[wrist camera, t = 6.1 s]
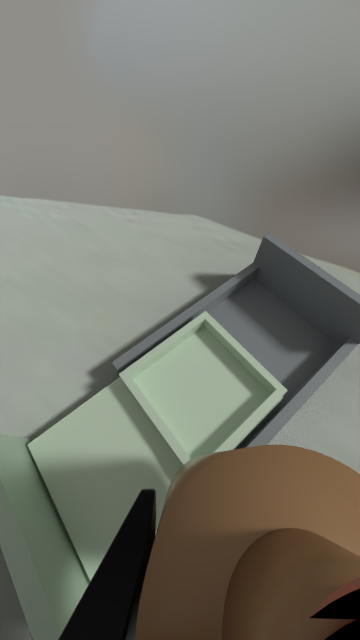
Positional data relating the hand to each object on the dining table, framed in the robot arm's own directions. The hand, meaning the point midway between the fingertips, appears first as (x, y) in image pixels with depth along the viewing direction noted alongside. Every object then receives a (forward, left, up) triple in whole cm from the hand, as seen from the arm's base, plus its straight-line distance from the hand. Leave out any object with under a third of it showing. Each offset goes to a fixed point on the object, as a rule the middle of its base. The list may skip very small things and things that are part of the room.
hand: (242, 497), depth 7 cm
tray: (-1, +5, -12) cm, 13 cm away
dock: (+8, +5, -13) cm, 16 cm away
